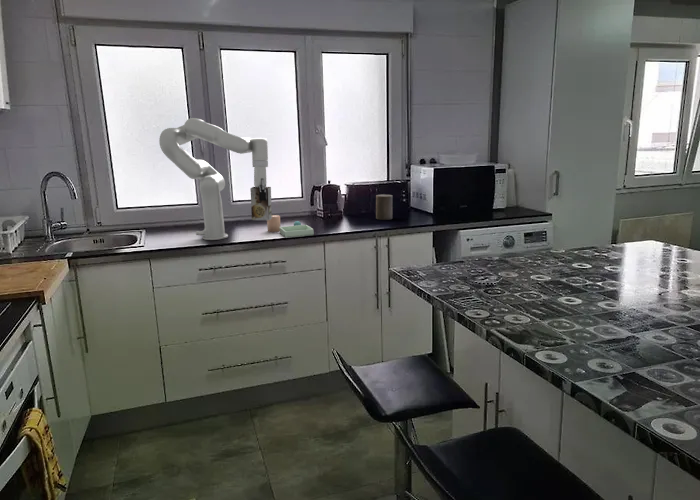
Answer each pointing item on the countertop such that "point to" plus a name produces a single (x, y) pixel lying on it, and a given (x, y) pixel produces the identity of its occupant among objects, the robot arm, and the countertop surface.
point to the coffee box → (261, 204)
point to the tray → (296, 231)
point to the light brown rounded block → (274, 224)
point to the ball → (297, 223)
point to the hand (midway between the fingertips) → (261, 199)
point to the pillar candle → (384, 207)
